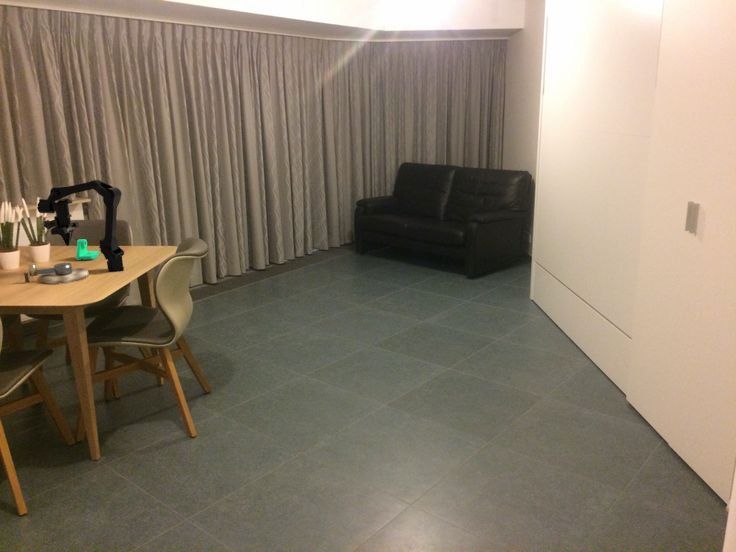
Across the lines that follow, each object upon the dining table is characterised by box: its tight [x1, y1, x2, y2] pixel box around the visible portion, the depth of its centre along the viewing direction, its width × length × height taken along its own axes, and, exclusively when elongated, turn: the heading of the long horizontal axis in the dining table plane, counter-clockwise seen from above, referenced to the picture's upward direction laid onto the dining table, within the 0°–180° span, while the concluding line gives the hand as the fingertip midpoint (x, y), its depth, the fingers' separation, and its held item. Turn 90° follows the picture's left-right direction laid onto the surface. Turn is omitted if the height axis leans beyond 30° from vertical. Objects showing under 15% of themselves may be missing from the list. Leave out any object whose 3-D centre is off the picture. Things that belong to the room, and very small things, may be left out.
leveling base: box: [23, 267, 90, 285], centre depth 260 cm, size 26×20×4 cm
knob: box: [27, 262, 73, 277], centre depth 258 cm, size 17×7×6 cm, turn 118°
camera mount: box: [75, 238, 101, 261], centre depth 297 cm, size 12×8×10 cm, turn 6°
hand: (67, 245), depth 272 cm, fingers closed
